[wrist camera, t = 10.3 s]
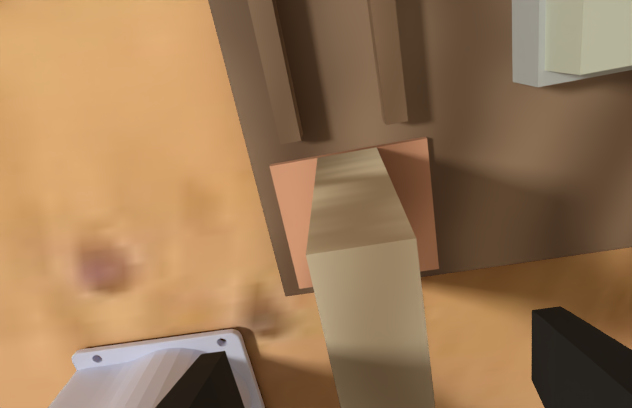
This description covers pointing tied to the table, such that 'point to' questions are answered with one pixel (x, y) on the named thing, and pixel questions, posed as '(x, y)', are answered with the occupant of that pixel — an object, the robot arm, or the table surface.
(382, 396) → the tan wooden block
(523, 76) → the offcut lower
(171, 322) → the table surface
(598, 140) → the walnut rack
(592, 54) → the offcut upper
